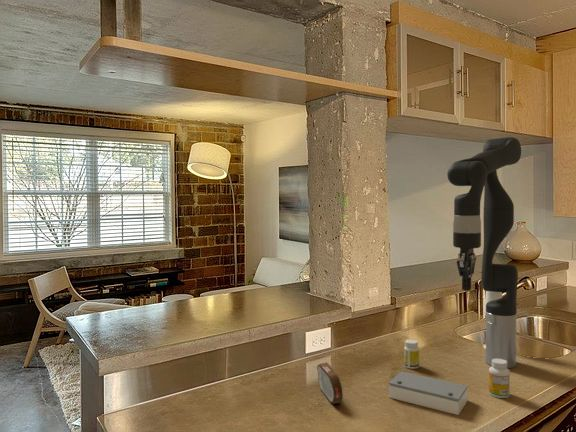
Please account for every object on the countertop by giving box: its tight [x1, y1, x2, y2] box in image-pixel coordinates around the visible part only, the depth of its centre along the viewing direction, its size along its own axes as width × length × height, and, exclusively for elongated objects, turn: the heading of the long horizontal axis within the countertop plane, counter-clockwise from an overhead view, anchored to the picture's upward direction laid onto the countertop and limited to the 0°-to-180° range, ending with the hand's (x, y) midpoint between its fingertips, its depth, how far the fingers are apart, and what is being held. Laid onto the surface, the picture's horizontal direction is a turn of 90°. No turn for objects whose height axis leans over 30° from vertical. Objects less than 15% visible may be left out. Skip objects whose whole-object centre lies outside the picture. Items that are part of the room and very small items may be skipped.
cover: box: [388, 371, 468, 401], centre depth 129 cm, size 10×19×1 cm, turn 55°
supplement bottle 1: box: [403, 339, 420, 370], centre depth 153 cm, size 5×5×8 cm
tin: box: [316, 361, 344, 405], centre depth 132 cm, size 15×3×8 cm, turn 14°
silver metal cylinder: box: [483, 291, 503, 349], centre depth 169 cm, size 7×7×24 cm
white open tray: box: [388, 384, 469, 416], centre depth 129 cm, size 10×19×4 cm, turn 55°
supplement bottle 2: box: [488, 359, 511, 399], centre depth 131 cm, size 5×5×10 cm
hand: (466, 289), depth 135 cm, fingers closed
